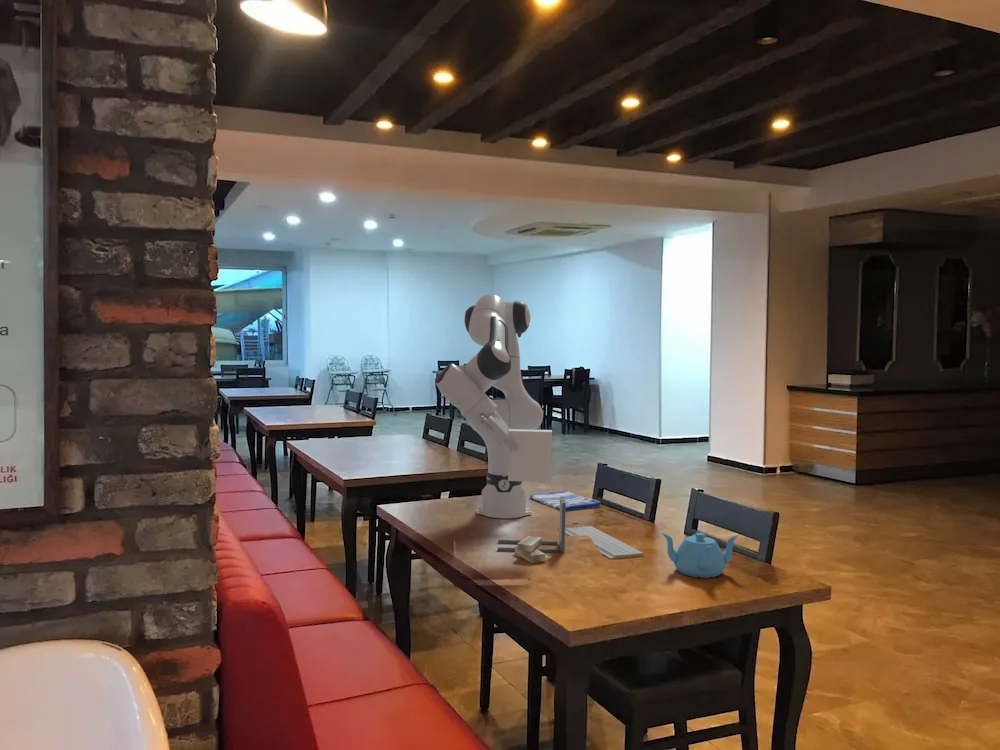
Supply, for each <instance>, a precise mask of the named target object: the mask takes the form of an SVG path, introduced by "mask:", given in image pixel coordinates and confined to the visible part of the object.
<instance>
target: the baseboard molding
mask: <svg viewBox="0 0 1000 750" xmlns="http://www.w3.org/2000/svg"><path fill="white" fill-rule="evenodd" d="M589 524H590V525H589V526H588V525H587V526H582V525H584V523H583V524H579V525H580V526H578V527H577V526H576V527H568V526H570V524H567V525H566V524H565V535H567V536H570V537H571V536H574V537H577V536H587V537H589V538H590V540H591V541H592V542H593V544H594V545H595V547H596V548H597V549H598V551H599V552H600V553H601V555H602V556H604V557H606V558H608V559H609V560H616V559H626V558H635V557H636V558H637V557H644V552H643V551H641V550H638V549H637V548H635V547H633V546H631V545H629V544H627V543H625V542H623V541H621V540H619V539H618V538H615V537H613V536H612V535H609V534H608V533H605V532H603V531H602V530H599V529H597V528H595V527H594V526H592V523H591V522H589ZM572 525H578V522H575V523H572ZM559 529H560V527H559V528H558V530H559Z"/></svg>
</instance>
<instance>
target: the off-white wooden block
mask: <svg viewBox="0 0 1000 750" xmlns="http://www.w3.org/2000/svg"><path fill="white" fill-rule="evenodd" d="M509 438H510V439H511V440H512V441H513V442H514V443H515V444H516V445H517V446H518V449H517V450H516V451H514V452H513V451H512V450H511V449H510V448H509V453H508V481H522V482H535V483H536V482H537V483H539V482H540V483H551V482H552V457H553V455H552V454H553V453H552V452H553V430H552V429H534V430H526V429H509Z"/></svg>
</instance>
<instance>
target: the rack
mask: <svg viewBox="0 0 1000 750" xmlns="http://www.w3.org/2000/svg"><path fill="white" fill-rule="evenodd" d="M566 512H567V511H566V502H565V499H564V497H563V496H560V510H559V528H560V529H559V528H558V532H559V534H558V535H559V536H558V537H559V538H558V541H557V540H542V545H546V546H547V545H550V546H552V545H553V546H558V545H559V548H539V547H538V548H537V550H539V551H541V552H543V553H556V554H557V553H559V554H560V553H562V554H563V553H564V554H565V552H566V551H565V549H566V548H565V546H566V545H565V543H566V542H565V541H566V534H565V528H566ZM522 540H523V539H520V540H518V539H498V540H497V541H498V544H499V545H501V544H504V545H505V544H507V545H509V544H510V545H517V543H519V542H520V541H522ZM497 552H512V553H513V552H514V553H515V547H502V546H501V547H500V546H499V547H498V546H497Z"/></svg>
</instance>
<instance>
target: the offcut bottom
mask: <svg viewBox="0 0 1000 750" xmlns="http://www.w3.org/2000/svg"><path fill="white" fill-rule="evenodd" d="M512 556H514V557H515V556H516V557H519V558H520V557H521V556H519V555H518V554H516V553H515V552H514V553H513V554H512ZM521 558H522V557H521ZM551 558H553V556H552V555H546V554H545V561H544V562H547V561H548V560H551Z"/></svg>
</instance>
